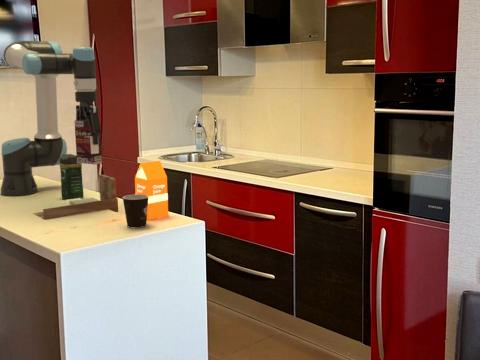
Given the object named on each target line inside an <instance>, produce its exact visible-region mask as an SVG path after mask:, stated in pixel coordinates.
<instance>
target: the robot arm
mask: <svg viewBox="0 0 480 360" xmlns="http://www.w3.org/2000/svg"><path fill="white" fill-rule="evenodd" d="M3 60H4V61H5V63H6V64H7V66H8V67H10V68H13V69H17V70H23V72H24V74H26V75H29V76H30V75H32V76H34V79H35V80H34V81H35V103H36V105H35V106H36V124H37V125H36V126H37V133H35V135H34V136H33V140H31V139H30V138H29V137H22V138H19V137H18V138H14V139H13V138H12V139H10V140H7V141H6V140H5V141H4V142H3V143H1V160H2V168H3V178H2V181H1V184H0V185H1V186H0V195H2V196H7V197H17V196H19V197H21V196H28V195H33V194H36V193H38V192H39V191H38V185H37V182H36V180H35V177H34V175H33V168H39V167H40V168H41V167H55V166H60V163H59V161H60V157H61V156H62V155H65V154H68V153H67V152H68V146H67V142H66V139H64V138H63V136H62V134H60V132H59V123H58V97H57V96H58V95H57V94H58V93H57V77H58V76H59V75H73V79H74V81H73V85H74V90H75V92H74V97H75V100H74V101H75V102H77V103H79V104H77V105H75V109H76V110H75V111H76V113H75V120H87V121H88V125H89V128H90V132H91V134H90V143H91V154H97V153H99V145H98V135H99V134H102V130H101V122H100V123H99V120H100V119H99V108H98V106H94V103H96V102H97V101H98V98H97V97H98V96H97V91H96V90H97V78H96V56H95V50H94V48H93V47H90V46H89V47H88V46H87V47H83V46H76V47H73V48H72V53H63V50H62V48H61V45H60V44H59V42H56V41H51V40H50V41H49V40H19V41H15V42H11V43H10V44H9V45H7V46H6V47H5V49H4V51H3ZM91 122H92V123H91Z"/></svg>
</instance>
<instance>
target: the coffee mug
mask: <svg viewBox="0 0 480 360" xmlns="http://www.w3.org/2000/svg"><path fill="white" fill-rule="evenodd" d="M148 197H149V196H148V195H143V194H135V193H134V194H128V195H124V196H123V197H122V201H123V207H124V215H125V220H126V226H127V227H128V226H129V227H128V228H130V227H140V228H142V227H141V226H144V227H146V226H147V221H148V220H147V209H148ZM145 225H146V226H145Z"/></svg>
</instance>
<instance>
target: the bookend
mask: <svg viewBox="0 0 480 360" xmlns="http://www.w3.org/2000/svg"><path fill="white" fill-rule="evenodd" d="M94 201H100V199H97V198H94V197H89V198H82V199H81V198H79V199H74V200H73V199H72V200H69V205H74V204H81V203H87V202H94Z"/></svg>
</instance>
